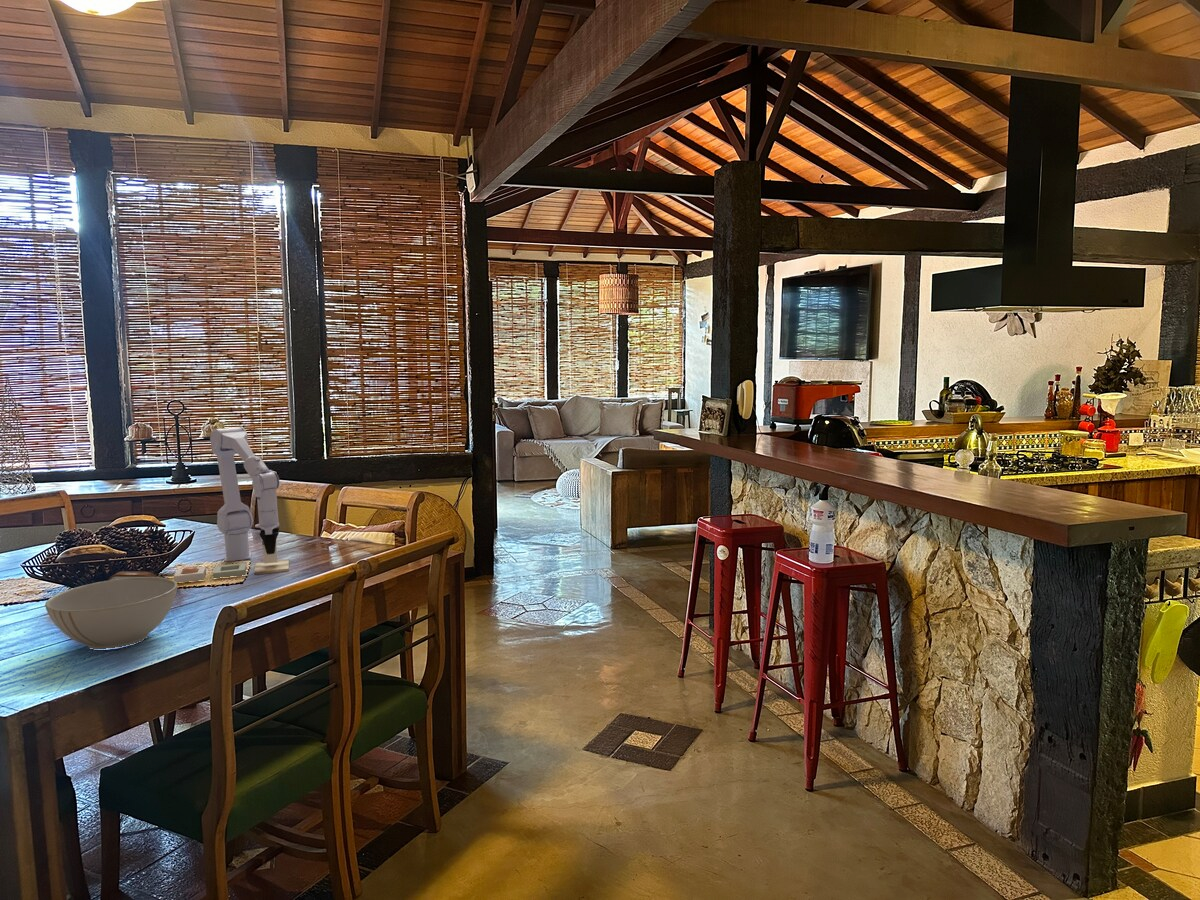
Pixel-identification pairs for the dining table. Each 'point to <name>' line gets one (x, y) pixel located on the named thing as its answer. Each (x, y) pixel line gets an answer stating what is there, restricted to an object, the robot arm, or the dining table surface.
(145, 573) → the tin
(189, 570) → the plunger button
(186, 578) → the plunger housing
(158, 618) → the decorative bowl
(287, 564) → the birch board
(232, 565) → the socket
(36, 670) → the dining table surface
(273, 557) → the cartridge
